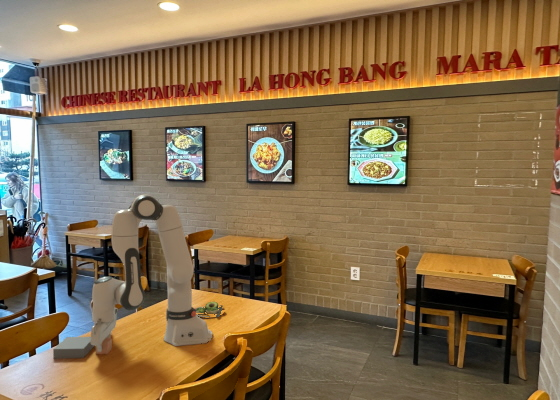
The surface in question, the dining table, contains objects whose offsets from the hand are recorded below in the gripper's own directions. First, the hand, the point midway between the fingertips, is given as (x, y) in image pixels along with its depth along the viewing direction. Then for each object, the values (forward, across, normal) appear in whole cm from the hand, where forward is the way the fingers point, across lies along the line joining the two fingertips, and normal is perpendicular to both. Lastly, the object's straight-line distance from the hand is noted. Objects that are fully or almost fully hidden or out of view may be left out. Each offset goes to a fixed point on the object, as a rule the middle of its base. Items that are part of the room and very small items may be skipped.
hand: (103, 346), depth 167 cm
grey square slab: (+2, 0, +12) cm, 12 cm away
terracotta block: (+2, 0, 0) cm, 2 cm away
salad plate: (+3, +47, -41) cm, 62 cm away
